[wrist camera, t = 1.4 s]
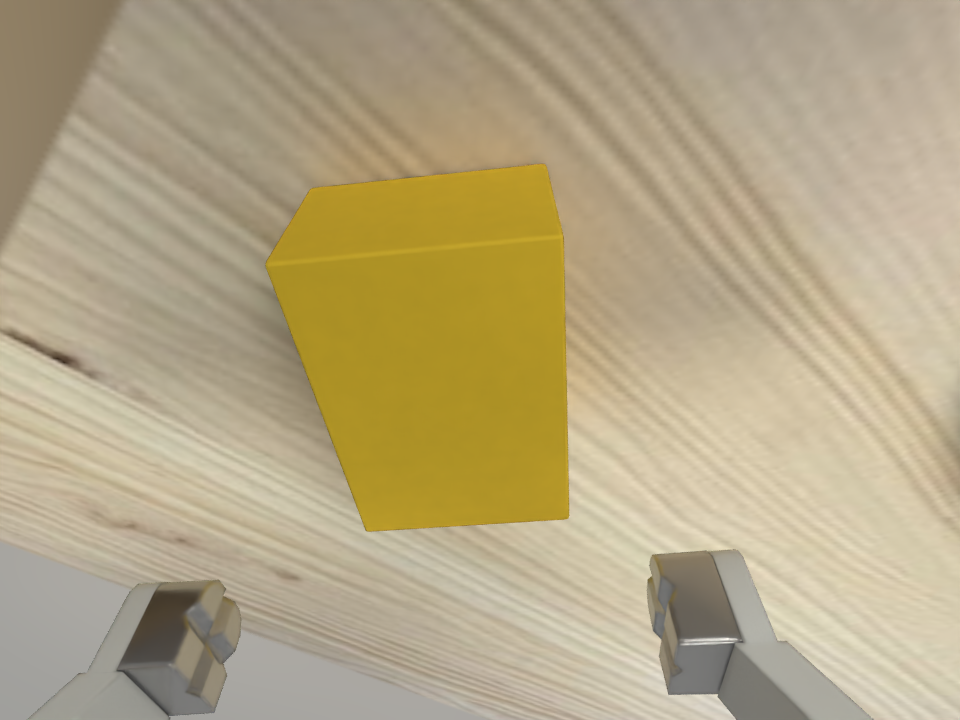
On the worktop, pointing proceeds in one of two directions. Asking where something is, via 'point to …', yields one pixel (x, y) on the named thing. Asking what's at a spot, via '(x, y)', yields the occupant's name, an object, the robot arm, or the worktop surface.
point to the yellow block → (435, 343)
